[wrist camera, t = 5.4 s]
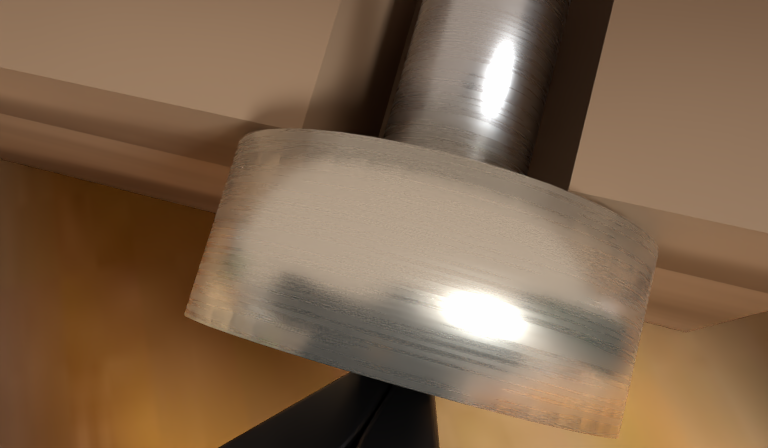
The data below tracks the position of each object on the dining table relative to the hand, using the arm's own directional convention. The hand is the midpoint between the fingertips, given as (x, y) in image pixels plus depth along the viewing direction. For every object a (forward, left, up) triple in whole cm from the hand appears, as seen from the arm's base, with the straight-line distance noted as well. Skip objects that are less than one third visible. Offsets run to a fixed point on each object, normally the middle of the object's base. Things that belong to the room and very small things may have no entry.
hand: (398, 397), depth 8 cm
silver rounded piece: (+3, +3, -2) cm, 5 cm away
